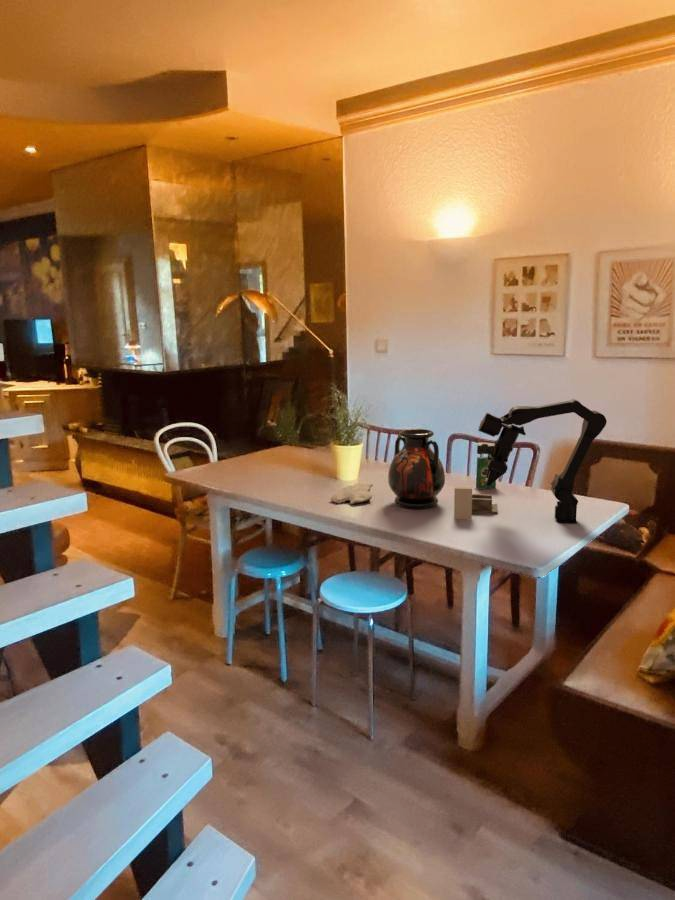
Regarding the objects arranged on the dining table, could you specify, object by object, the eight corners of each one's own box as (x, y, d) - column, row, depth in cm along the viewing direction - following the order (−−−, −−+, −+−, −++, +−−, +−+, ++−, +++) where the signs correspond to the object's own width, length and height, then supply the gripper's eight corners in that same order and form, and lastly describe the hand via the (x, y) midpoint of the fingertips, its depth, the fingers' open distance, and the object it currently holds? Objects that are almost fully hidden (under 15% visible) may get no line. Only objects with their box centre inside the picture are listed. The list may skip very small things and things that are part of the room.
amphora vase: (376, 505, 253) (375, 432, 247) (409, 493, 269) (409, 424, 263) (424, 515, 239) (424, 439, 233) (455, 502, 255) (456, 430, 249)
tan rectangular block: (471, 516, 237) (472, 486, 234) (471, 519, 234) (472, 489, 231) (454, 516, 238) (454, 486, 236) (454, 518, 235) (454, 488, 233)
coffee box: (493, 486, 277) (493, 455, 274) (496, 487, 274) (497, 456, 271) (475, 488, 274) (476, 457, 272) (478, 489, 272) (479, 458, 269)
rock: (389, 497, 264) (362, 487, 275) (390, 486, 263) (362, 477, 273) (352, 513, 250) (325, 502, 260) (352, 502, 249) (324, 491, 259)
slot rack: (497, 506, 248) (497, 493, 248) (497, 514, 239) (497, 501, 238) (458, 504, 251) (459, 492, 250) (457, 512, 242) (458, 499, 241)
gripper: (484, 427, 237) (466, 465, 242) (483, 438, 220) (465, 480, 224) (513, 439, 236) (495, 477, 241) (515, 451, 218) (496, 493, 223)
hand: (487, 481), depth 232 cm, fingers open, 9 cm apart
